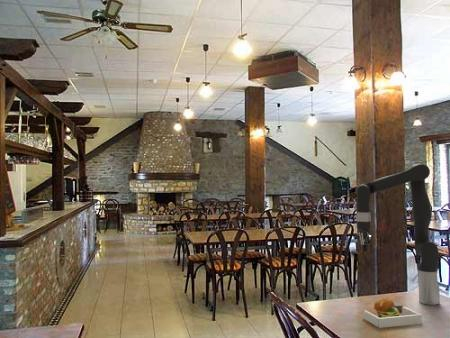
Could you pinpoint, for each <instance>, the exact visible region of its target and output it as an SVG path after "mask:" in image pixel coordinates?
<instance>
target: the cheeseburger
mask: <svg viewBox="0 0 450 338" xmlns="http://www.w3.org/2000/svg"><path fill="white" fill-rule="evenodd" d="M393 302H394V301H393V300H392V299H390V298H387V297H386V298H383V299H379V300H376V301H375V302H374V303H373V304H374V305H373V308H374V310H375V312H376V314H377V316H378V317H379V318H385V317H395V316H401V314H400V312H398V310H397V308H394V307H393V305H394V303H393Z"/></svg>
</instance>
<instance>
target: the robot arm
mask: <svg viewBox="0 0 450 338" xmlns="http://www.w3.org/2000/svg"><path fill="white" fill-rule="evenodd" d="M430 174H431V170H430V168H429V166H427V165H426V164H424V163H414V164H412V165H411V166H410V167H409V168H408V169H406V170H404V171H402V172H398V173H396V174H395V173H394V174H391V175H388V176H383V177H380V178H378V179H375V180H371V182H366V183H362V184H359V185H358V186H356V188H355V189H354V191H355V195H356V196H357V197H356V198H357V202H356V215H355V216H356V229H357V230H358V233H356V234H355V235H356V238H357V240H358V242H359V244H360V245H361V252H363V253H367V252H368V245H370V244H371V241H372V239H373V236H372V235H371V234H370V233H371V232H370V230H371V228H372V221H371V218H372V217H371V207H370V204H371V203H370V200H371V195H372V194H376V193H380V192H384V191H387V190H390V189H393V188H395V187H398V186H400V185H403V184H408V183H410V189H411V190H410V191H411V206H412V208H411V209H412V219H413V227H414V251H415V253H416V254H417V255H418V256H419V257H420V263H418V264H417V279H418V280H417V281H418V282H417V285H418V286H417V287H418V302H419V303H420V304H423V305H428V306H429V305H430V306H435V305H439V304H440V303H441V299H440V298H441V295H440V285H439V284H438V267H439V248H438V245H437V243H435V242H433V241H430V238H429V228H430V224H431V221H432V216H433V215H432V213H433V212H432V203H431V201H430V198H429V195H428V193H427V188H426V180H427V179H428V177H429V176H430Z"/></svg>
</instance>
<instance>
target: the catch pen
mask: <svg viewBox="0 0 450 338" xmlns="http://www.w3.org/2000/svg"><path fill="white" fill-rule="evenodd" d="M401 313H402V315H400V316H395V317H385V318H380V317H379V316H378V315H375V314H374V313H372V312H370V311H368V310H366V309H363V319H364V320H365V321H367V322H369V323H371V324H372V325H374V326H375V327H377V328H378V329H382V328H391V327H403V326H411V325H422V324H423V315H422V314H421V313H419V312H417V311H415V310H412V309H410V308H408V307H406V306H403V307H402V312H401Z"/></svg>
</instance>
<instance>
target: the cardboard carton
mask: <svg viewBox="0 0 450 338" xmlns="http://www.w3.org/2000/svg"><path fill="white" fill-rule="evenodd" d="M393 303H394V305H393V307H394V308H397V310H398V312H399V313H402V307H404V305H403V304H401V303H399V302H397V301H393Z"/></svg>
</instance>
